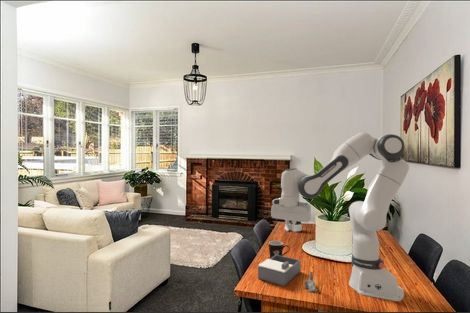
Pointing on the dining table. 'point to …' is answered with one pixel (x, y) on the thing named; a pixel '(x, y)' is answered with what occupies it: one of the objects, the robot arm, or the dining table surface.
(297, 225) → the spread jar
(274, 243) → the coffee mug
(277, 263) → the sliding lid
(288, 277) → the box
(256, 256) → the dining table surface
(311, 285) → the house of cards
